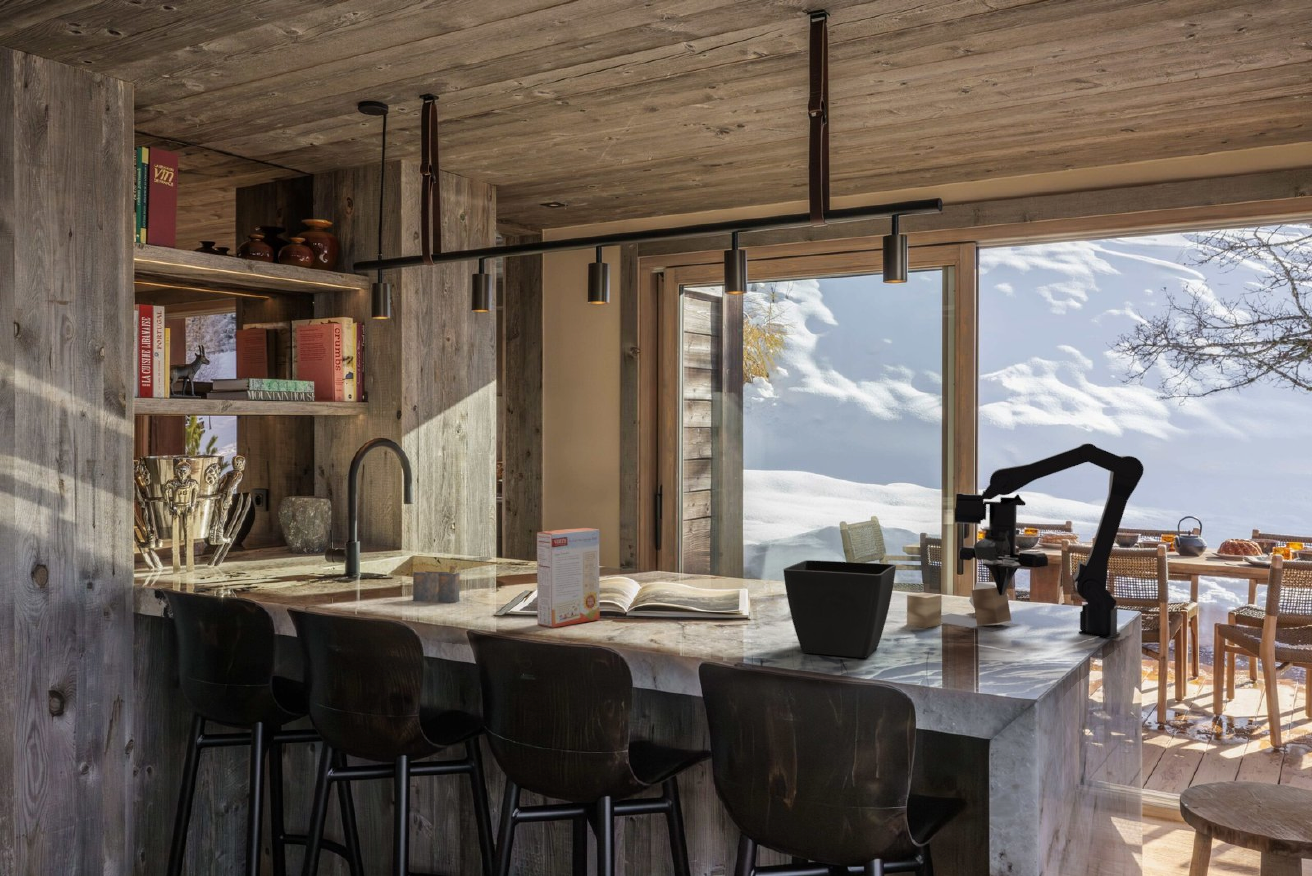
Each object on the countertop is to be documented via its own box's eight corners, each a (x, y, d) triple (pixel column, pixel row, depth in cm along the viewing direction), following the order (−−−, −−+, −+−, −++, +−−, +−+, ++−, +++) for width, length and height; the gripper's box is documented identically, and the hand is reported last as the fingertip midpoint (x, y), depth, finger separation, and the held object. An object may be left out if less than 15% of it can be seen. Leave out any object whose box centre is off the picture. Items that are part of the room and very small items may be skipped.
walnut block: (1011, 621, 225) (1005, 585, 226) (997, 624, 221) (991, 588, 222) (991, 622, 228) (985, 587, 230) (977, 625, 224) (971, 590, 226)
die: (1002, 622, 234) (1020, 588, 237) (969, 603, 235) (987, 569, 238) (991, 628, 241) (1008, 595, 244) (959, 609, 243) (976, 576, 246)
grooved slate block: (459, 602, 253) (460, 564, 253) (455, 604, 250) (455, 565, 250) (418, 600, 256) (418, 562, 256) (412, 602, 253) (413, 564, 253)
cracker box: (583, 617, 233) (584, 526, 233) (600, 620, 229) (601, 528, 228) (535, 624, 223) (535, 530, 223) (552, 628, 219) (552, 532, 219)
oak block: (941, 626, 226) (941, 595, 226) (926, 629, 222) (926, 597, 222) (922, 622, 229) (922, 592, 229) (906, 626, 225) (907, 595, 225)
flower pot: (805, 637, 212) (805, 557, 212) (896, 645, 205) (897, 563, 204) (781, 655, 194) (781, 568, 194) (879, 665, 187) (880, 574, 187)
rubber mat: (1020, 626, 226) (1020, 624, 226) (992, 632, 218) (992, 631, 218) (950, 614, 240) (950, 613, 240) (921, 620, 232) (921, 619, 232)
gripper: (945, 523, 225) (944, 593, 225) (1023, 530, 211) (1022, 604, 211) (972, 521, 232) (971, 589, 232) (1049, 527, 218) (1048, 599, 218)
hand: (1001, 595), depth 223 cm, fingers closed
